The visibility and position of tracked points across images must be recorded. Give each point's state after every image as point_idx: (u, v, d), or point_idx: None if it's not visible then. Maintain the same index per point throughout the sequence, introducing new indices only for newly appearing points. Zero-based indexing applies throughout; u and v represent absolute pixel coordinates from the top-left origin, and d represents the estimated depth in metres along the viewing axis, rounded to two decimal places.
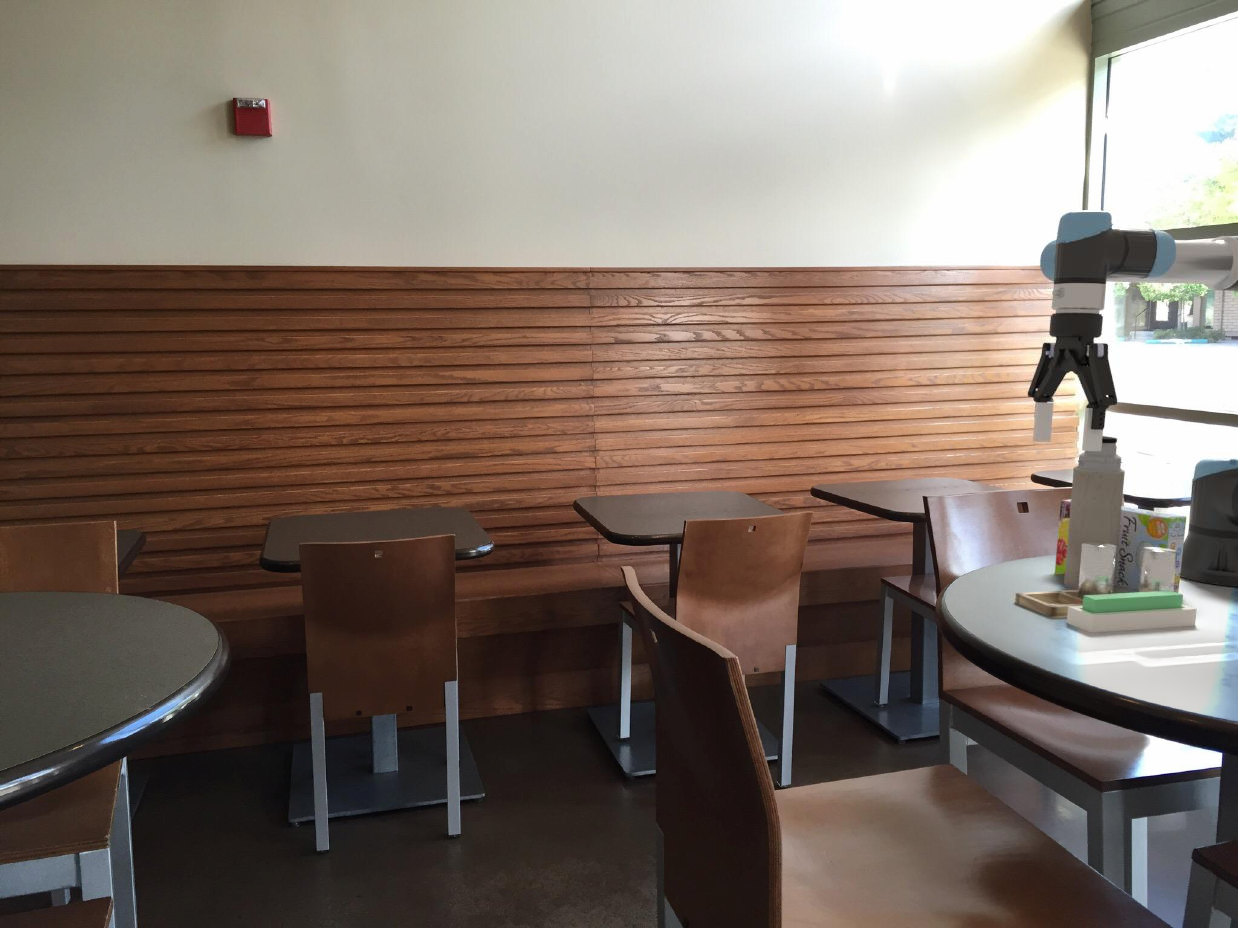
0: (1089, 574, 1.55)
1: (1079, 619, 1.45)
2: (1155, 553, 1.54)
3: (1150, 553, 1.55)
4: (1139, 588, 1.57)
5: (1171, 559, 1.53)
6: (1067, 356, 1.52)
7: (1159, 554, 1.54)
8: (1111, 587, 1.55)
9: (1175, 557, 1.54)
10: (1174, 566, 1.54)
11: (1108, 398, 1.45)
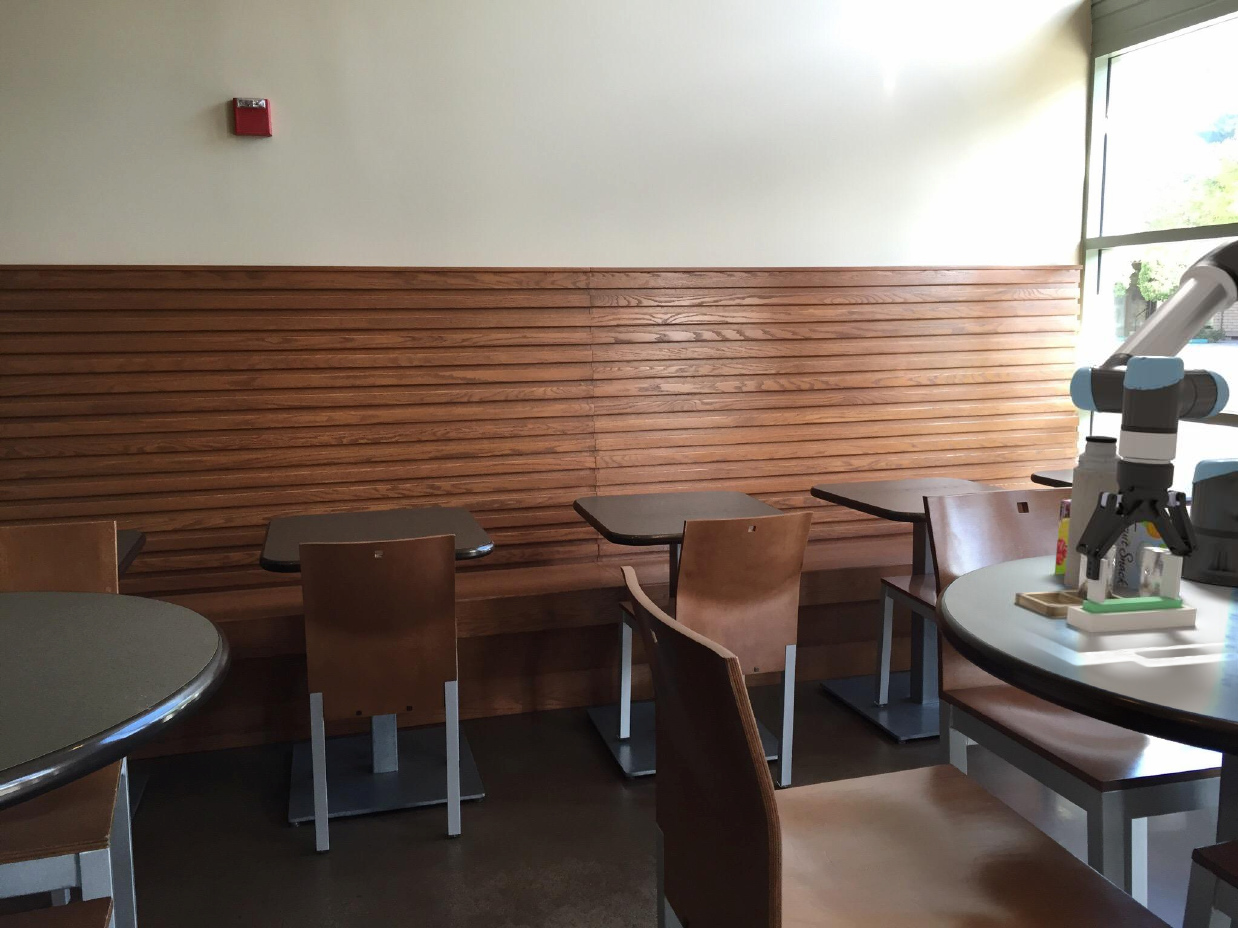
0: None
1: (1079, 619, 1.45)
2: (1155, 553, 1.54)
3: (1150, 553, 1.55)
4: (1139, 588, 1.57)
5: None
6: None
7: (1159, 554, 1.54)
8: (1111, 587, 1.55)
9: None
10: None
11: (1081, 547, 1.43)
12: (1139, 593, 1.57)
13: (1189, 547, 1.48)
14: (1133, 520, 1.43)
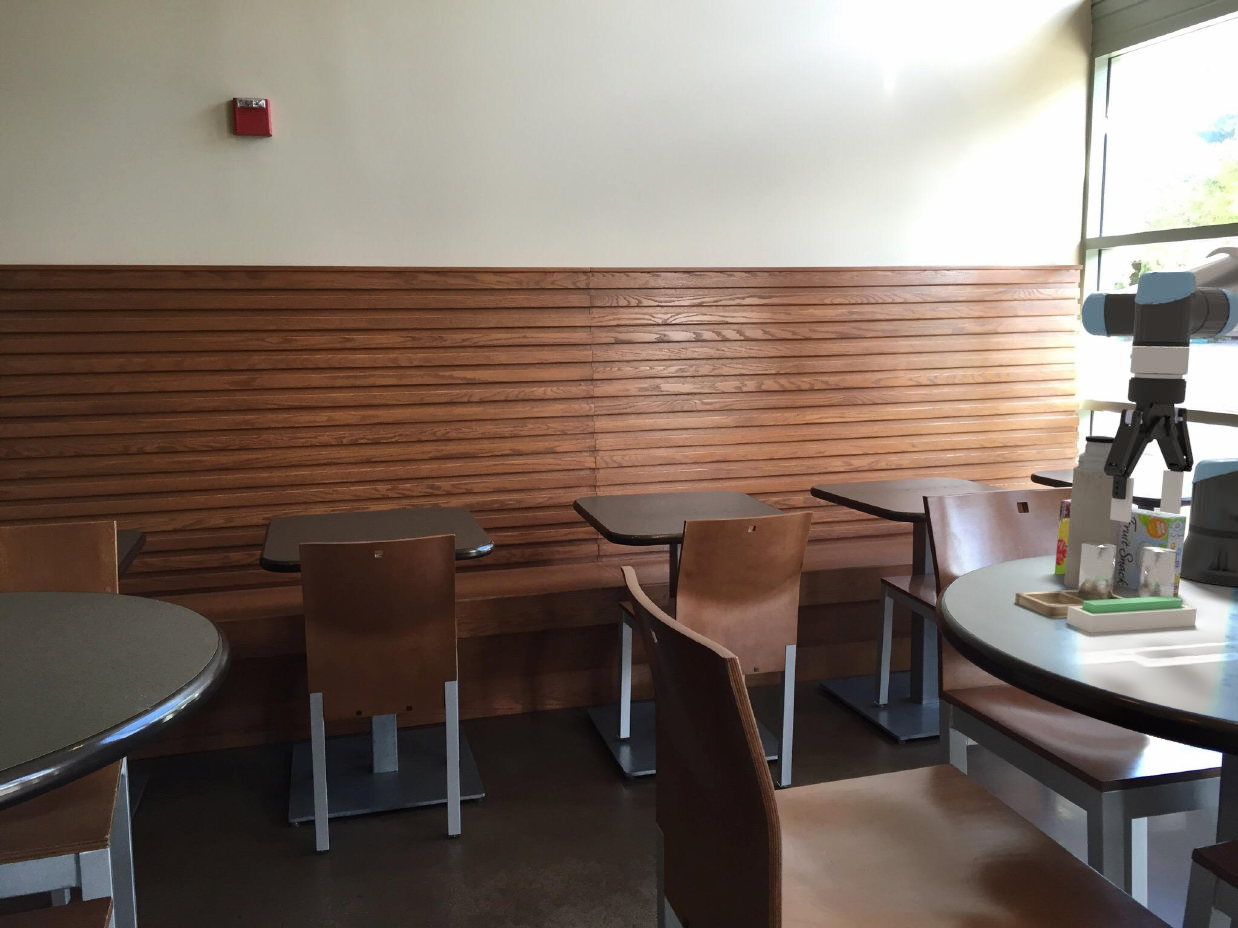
0: (1089, 574, 1.55)
1: (1079, 619, 1.45)
2: (1155, 553, 1.54)
3: (1150, 553, 1.55)
4: (1139, 588, 1.57)
5: (1171, 559, 1.53)
6: None
7: (1159, 554, 1.54)
8: (1111, 587, 1.55)
9: (1175, 557, 1.54)
10: (1174, 566, 1.54)
11: (1111, 466, 1.41)
12: (1139, 593, 1.57)
13: (1186, 463, 1.50)
14: (1153, 436, 1.42)
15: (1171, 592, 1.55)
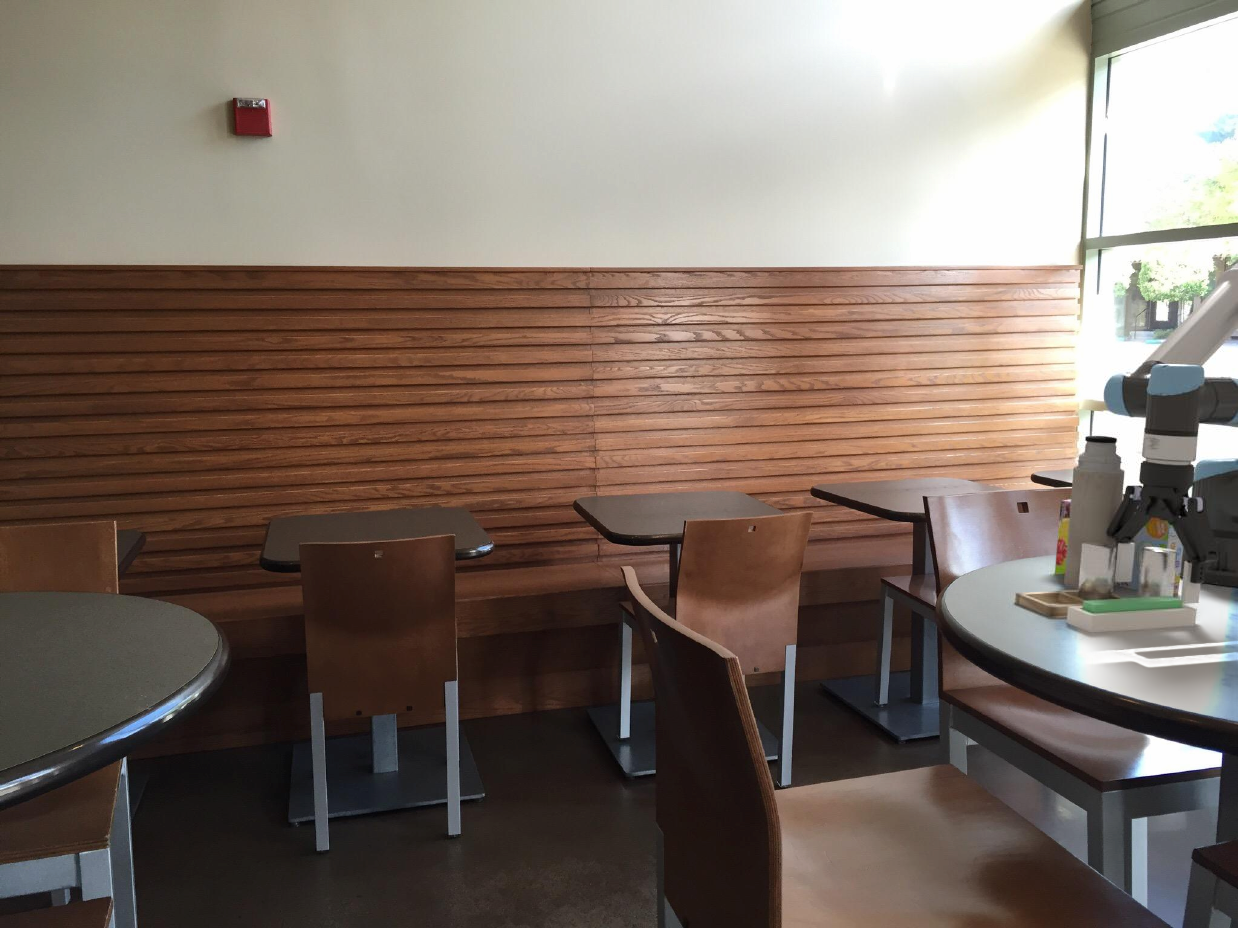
0: (1089, 574, 1.55)
1: (1079, 619, 1.45)
2: (1155, 553, 1.54)
3: (1150, 553, 1.55)
4: (1139, 588, 1.57)
5: (1171, 559, 1.53)
6: (1161, 506, 1.53)
7: (1159, 554, 1.54)
8: (1111, 587, 1.55)
9: (1175, 557, 1.54)
10: (1174, 566, 1.54)
11: (1211, 555, 1.46)
12: (1139, 593, 1.57)
13: None
14: None
15: (1171, 592, 1.55)
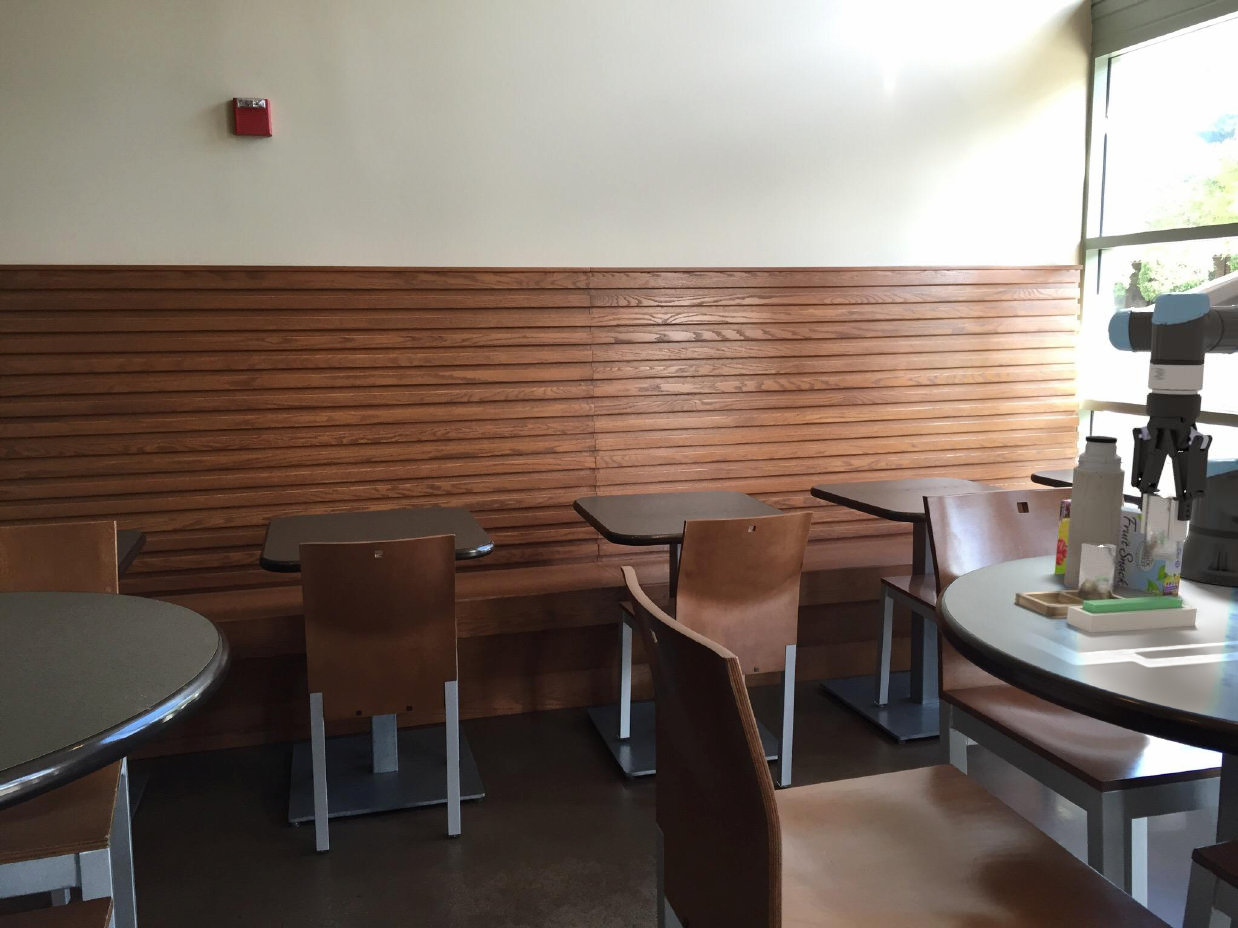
0: (1089, 574, 1.55)
1: (1079, 619, 1.45)
2: (1161, 498, 1.53)
3: (1156, 499, 1.54)
4: (1145, 535, 1.56)
5: None
6: (1167, 437, 1.52)
7: (1165, 499, 1.53)
8: (1111, 587, 1.55)
9: None
10: None
11: (1197, 492, 1.49)
12: (1145, 540, 1.56)
13: None
14: None
15: None
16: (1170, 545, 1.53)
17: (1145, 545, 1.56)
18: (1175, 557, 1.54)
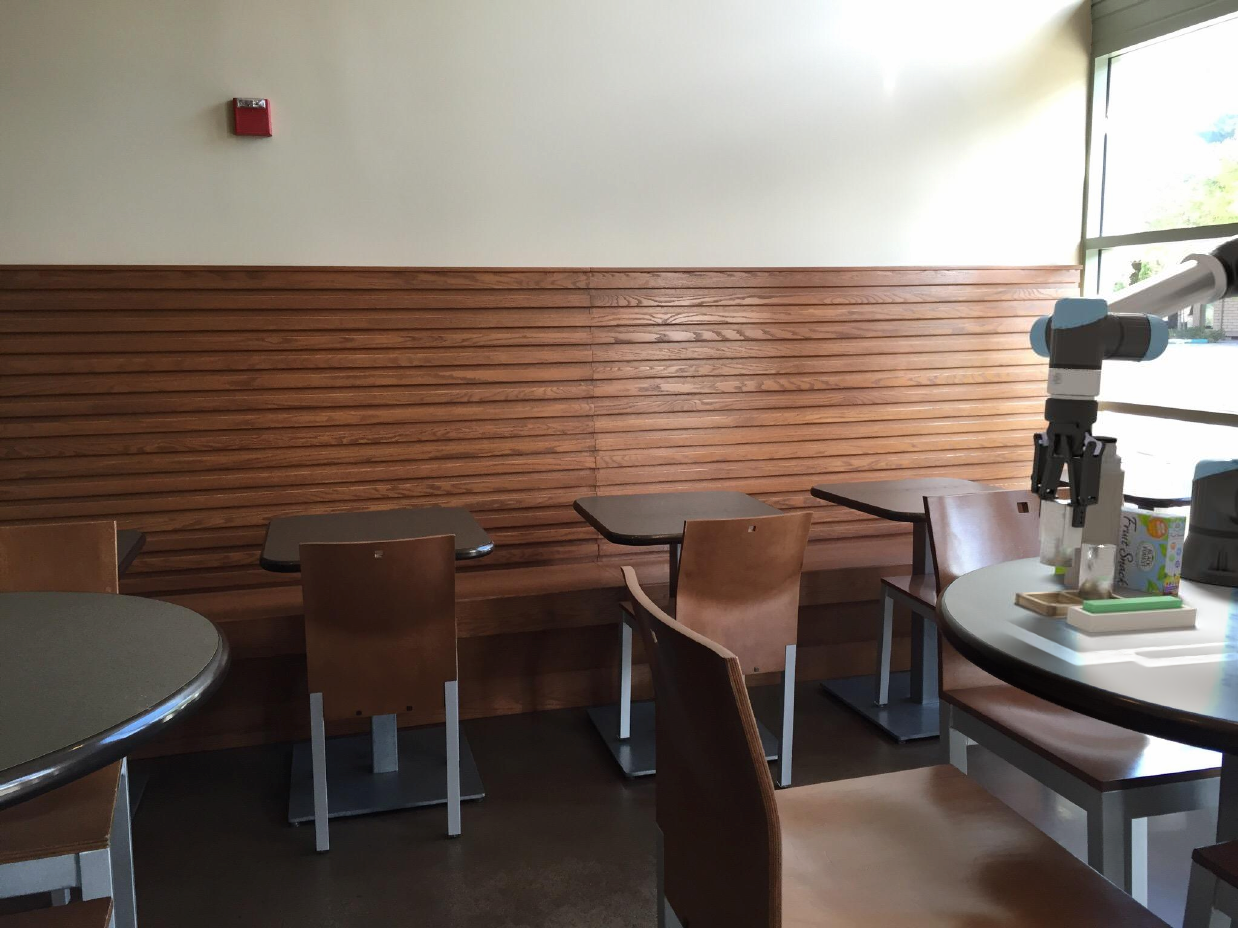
0: (1089, 574, 1.55)
1: (1079, 619, 1.45)
2: (1056, 504, 1.51)
3: (1051, 504, 1.52)
4: (1041, 540, 1.54)
5: None
6: (1063, 442, 1.50)
7: (1060, 505, 1.51)
8: (1111, 587, 1.55)
9: None
10: None
11: (1090, 498, 1.47)
12: (1041, 546, 1.54)
13: None
14: None
15: None
16: (1065, 551, 1.52)
17: (1041, 551, 1.54)
18: (1070, 564, 1.52)
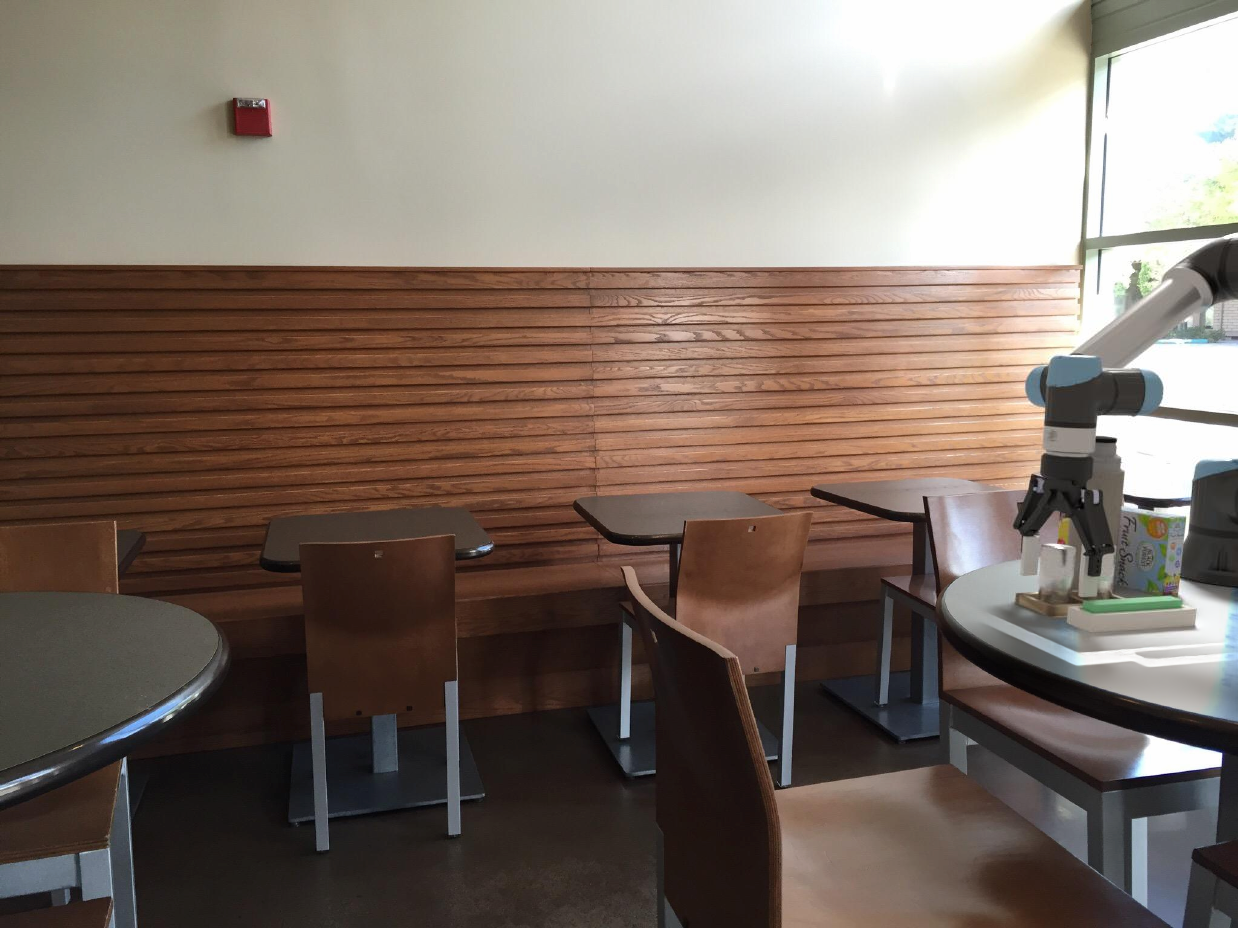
0: None
1: (1079, 619, 1.45)
2: (1052, 550, 1.52)
3: (1048, 550, 1.53)
4: (1039, 585, 1.55)
5: (1069, 555, 1.52)
6: (1060, 498, 1.51)
7: (1056, 551, 1.52)
8: (1111, 587, 1.55)
9: (1073, 554, 1.52)
10: (1072, 563, 1.52)
11: (1106, 547, 1.44)
12: (1039, 590, 1.55)
13: None
14: None
15: (1069, 589, 1.53)
16: (1062, 596, 1.53)
17: (1039, 596, 1.55)
18: None
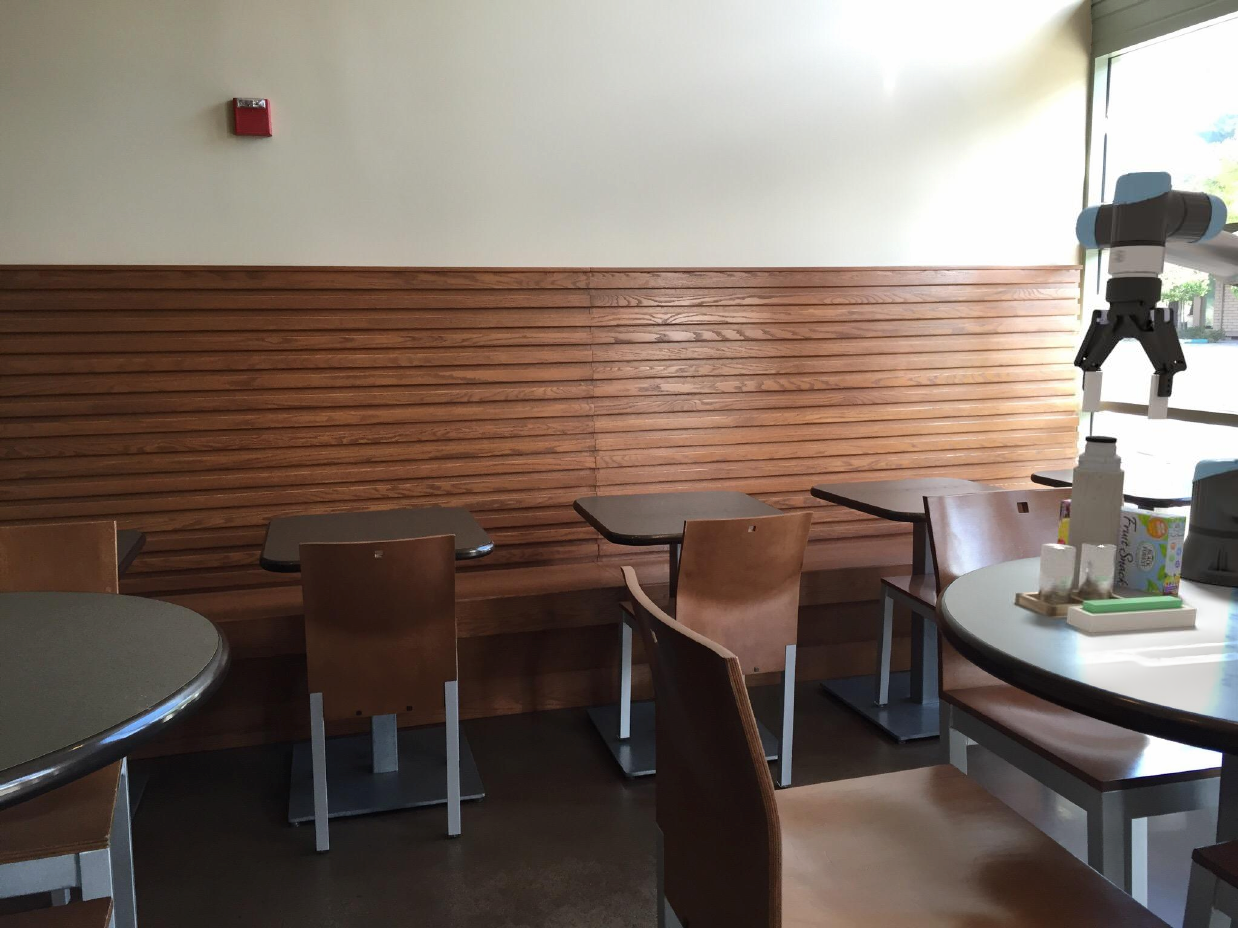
0: (1089, 574, 1.55)
1: (1079, 619, 1.45)
2: (1053, 550, 1.52)
3: (1048, 550, 1.53)
4: (1039, 585, 1.55)
5: (1069, 555, 1.52)
6: (1127, 322, 1.47)
7: (1056, 551, 1.52)
8: (1111, 587, 1.55)
9: (1073, 554, 1.52)
10: (1072, 563, 1.52)
11: (1178, 364, 1.40)
12: (1039, 590, 1.55)
13: None
14: None
15: (1069, 589, 1.53)
16: (1062, 596, 1.53)
17: (1039, 596, 1.55)
18: None
